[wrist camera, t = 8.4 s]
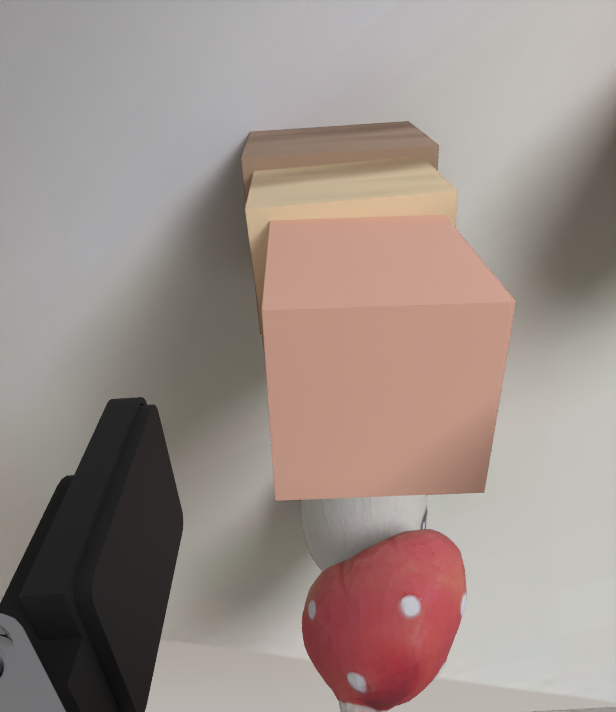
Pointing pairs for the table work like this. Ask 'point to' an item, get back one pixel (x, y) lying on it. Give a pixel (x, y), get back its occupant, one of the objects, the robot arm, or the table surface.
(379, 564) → the decorative ornament
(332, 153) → the walnut base
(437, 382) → the terracotta block
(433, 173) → the oak block
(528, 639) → the table surface
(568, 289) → the table surface
